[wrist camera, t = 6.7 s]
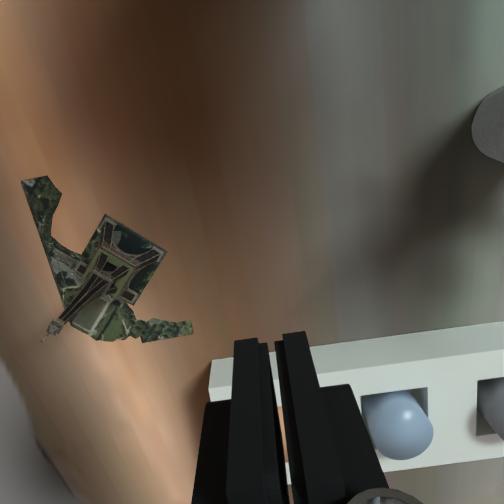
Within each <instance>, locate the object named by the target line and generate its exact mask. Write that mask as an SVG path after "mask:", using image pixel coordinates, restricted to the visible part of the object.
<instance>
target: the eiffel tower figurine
mask: <svg viewBox="0 0 504 504" xmlns="http://www.w3.org/2000/svg"><path fill="white" fill-rule="evenodd" d="M21 183H22V186H23V189H24V192H25V195H26V198H27V201H28V204H29V206H30V209H31V212H32V215H33V218H34V221H35V224H36V226H37V229H38V232H39V235H40V238H41V241H42V244H43V247H44V250H45V253H46V255H47V258H48V261H49V264H50V267H51V270H52V273H53V276H54V279H55V281H56V284H57V287H58V290H59V293H60V296H61V299H62V302H63V304H64V307H65V310H64V312H63V313H62V314H61V315H60V316H59V317H58V318H57V319H56V320H52V322H51V323H50V325H49V327H48V329H47V332H48V334H47V335H46V336H45V337H44V338H43V339H42V340H41V342H42V341H43V340H44V339H45V338H46V337H47V336H48V335H49V334H53V335H56V334H59V332H60V331H61V329H62V327H63V326H64V325H65V324H66V323H67V322H68V321H69V322H70V324H71V326H72V327H74V328H76V329H78V330H80V331H82V332H84V333H86V334H88V335H89V336H91V337H92V338H93V339H95V340H102V341H111V342H113V341H115V340H125V339H126V338H127V337H129V336H132V337H133V338H135V339H136V338H138V337H139V336H140V337H141V341H142V343H145V342H150V341H156V340H161V339H167V338H172V337H177V336H183V335H188V334H193V330H192V324H191V320H188V321H182V322H178V323H175V322H169V321H164V320H158V319H155V318H153V319H151V320H149V321H147V322H144V321H143V320H136V318H135V315H134V312H133V310H132V309H131V308H130V307H129V306H128V305H127V303H126V302H128V303H130V304H132V305H134V304H135V303H136V301H137V299H138V298H139V296H140V294H141V293H142V291H143V290H144V288H145V286H146V285H147V283H148V282H149V280H150V278H151V277H152V275H153V274H154V272H155V270H156V269H157V267H158V266H159V264H160V262H161V261H162V259H163V258H164V256H165V254H166V253H167V251H165V250H164V249H162V248H160V247H159V246H157V245H155V244H154V243H152V242H150V241H149V240H147V239H145V238H144V237H142V236H140V235H139V234H137V233H135V232H134V231H132V230H130V229H129V228H127V227H125V226H124V225H122V224H120V223H119V222H117V221H116V220H114V219H112V218H111V217H109V216H107V215H106V214H105V215H104V217H103V219H102V220H101V222H100V224H99V226H98V227H97V229H96V231H95V233H94V234H93V236H92V238H91V240H90V241H89V243H88V245H87V247H86V248H85V250H84V252H83V253H82V255H81V254H78V253H75V252H73V251H70V250H69V249H67V248H65V247H64V246H62V245H61V244H60V243H58V242H57V241H56V240H55V239H54V238H53V237H52V236H51V225H52V217H53V214H54V212H55V210H56V208H57V206H58V203H59V200H60V198H61V195H62V193H61V192H60V191H59V190H58V189H57V188H56V187H55V186H54V185H53V183H52V182H51V180H50V179H49V177H48V176H43V177H38V178H34V179H29V180H25V181H21ZM124 300H125V301H126V302H125V301H124Z"/></svg>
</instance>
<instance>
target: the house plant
mask: <svg viewBox="0 0 504 504" xmlns="http://www.w3.org/2000/svg"><path fill="white" fill-rule="evenodd" d="M471 129H472V137H473V140H474V143H475V145H476V146H477V148H478V149H479V150H480V152H482V153H483V154H485V155H486V156H488V157H490V158H493V159H495V160H498V161H500V162H503V163H504V86H502V87H500V88H498V89H496V90H495V91H493V92H491V93H490V94H489V95H488V96H486V97H485V98H484V99H483V100H482V102H481V104H480V105H479V107H478V109H477V111H476V114H475V116H474V119H473V123H472V127H471Z"/></svg>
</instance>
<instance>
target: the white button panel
mask: <svg viewBox="0 0 504 504" xmlns="http://www.w3.org/2000/svg"><path fill="white" fill-rule="evenodd" d="M310 351H311V355H312V359H313V363H314V366H315V370H316V374H317V378H318V382H319V385H320V387H326V386H334V385H341V384H349V385H350V386H351V388H352V391H353V393H354V396H355V399H356V401H357V404H358V407H359V409H360V412H361V415H362V417H363V414H362V407H363V403H364V401H365V399H366V397H367V396H368V395H370V394H377V393H385V392H393V391H400V390H409V391H410V392H411V393H412V395H413V396H414V398H415V399H416V401H417V402H418V404H419V405H420V407H421V408H422V410H423V411H424V413H425V414H426V416H427V417H428V419H429V420H430V422H431V424H432V426H433V431H434V434H433V439H432V442H431V444H430V445H429V447H428V448H427V449H426V450H425V451H424V452H423V453H421V454H420V455H418V456H416V457H414V458H411V459H407V460H393V459H390V458H387V457H385V456H384V455H382V454H381V453H380V452H379V451H378V449H377V447H376V445H375V443H374V440H373V438H372V436H371V433H370V431H369V429H368V426H367V424H366V422H365V419H364V417H363V420H364V423H365V425H366V428H367V431H368V433H369V436H370V439H371V441H372V444H373V447H374V449H375V452H376V454H377V457H378V460H379V462H380V465H381V468H382V470H383V472H389V471H397V470H404V469H412V468H420V467H428V466H436V465H443V464H451V463H459V462H467V461H474V460H482V459H490V458H498V457H504V440H503V439H501V438H500V436H499V435H498V434H497V433H496V432H495V431H494V429H493V428H492V427H491V426H490V425H489V424H488V422H487V421H486V420H485V419H484V418H483V417H482V415H481V414H480V413H479V412H478V411H477V383H478V381H479V380H484V379H491V378H499V377H504V321H500V322H493V323H485V324H478V325H470V326H463V327H455V328H448V329H440V330H433V331H425V332H418V333H411V334H403V335H396V336H388V337H381V338H373V339H366V340H358V341H351V342H343V343H336V344H329V345H321V346H314V347H310ZM269 357H270V363H271V369H272V375H273V382H274V388H275V394H276V400H277V407H279V406H282V403H281V395H280V386H279V378H278V369H277V361H276V352H269ZM232 374H233V357H232V358H224V359H217V360H212V365H211V372H210V380H209V387H208V390H209V395H210V400H211V402H213V401H220V400H228V399H231V391H232ZM285 465H286V474H287V483H288V484H291V479H290V471H289V463H288V462H287V463H285Z"/></svg>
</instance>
